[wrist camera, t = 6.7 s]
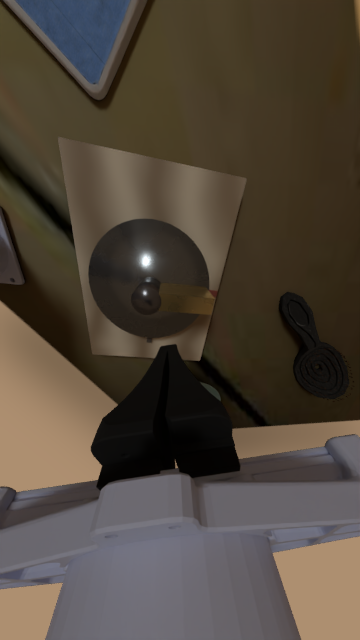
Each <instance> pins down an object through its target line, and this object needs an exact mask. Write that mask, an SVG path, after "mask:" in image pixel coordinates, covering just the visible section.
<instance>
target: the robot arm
mask: <svg viewBox="0 0 360 640" xmlns="http://www.w3.org/2000/svg"><path fill="white" fill-rule="evenodd" d="M13 279H14V280H15V281H14V280H13ZM0 283H6V284H15V285H22V284H24V283H25V280H24V277H23V274H22V271H21V268H20V265H19V262H18V259H17V256H16V253H15V250H14V247H13V244H12V241H11V238H10V234H9V231H8V228H7V225H6V222H5V219H4V216H3V213H2V210H1V207H0ZM234 446H235V444H234V441H233V437H232V421H231V419H230V417H229V415H228V413H227V411H226V409H225V408H224V406H223V404H222V403H221V401H220V400H219V399H217V398H216V397H215V396H214V395H212V394H211V393H210V392H209V391H208V390H207V389H206V388H205V387H204V386H203V385H202V384H201V383H200V382H199V381H198V380H197V379H196V378H195V377H194V375H193V374H192V373H191V372H190V370H189V369H188V368H187V366H186V364H185V363H184V361H183V359H182V358H181V356H180V354H179V351H178V348H177V345H176V344H172V345H165V346H161V347H160V348H159V351H158V353H157V355H156V357H155V359H154V361H153V363H152V364H151V366H150V368H149V369H148V371H147V372H146V374H145V375H144V377H143V378H142V380H141V381H140V382H139V383H138V385H137V386H136V387H135V388H134V389H133V391H132V392H131V393H130V394H129V395H128V396H127V397H126V398H125V399H124V400H123V401H122V402H121V403H120V404H119V405H118V406H117V407H116V408H114V409H113V410H112V411H111V412H110V413H108V414H107V415H106V416H105V417H104V418H103V419H102V421H101V424H100V426H99V428H98V430H97V433H96V435H95V438H94V440H93V443H92V446H91V452H92V454H93V455H94V457H95V458H96V459H97V460H98V461H99V462H100V464H101V465H102V469H101V472H100V475H99V479H98V480H95V481H89V482H82V483H75V484H69V485H62V486H56V487H48V488H42V489H36V490H28V491H21V492H16V490H14V489H12V488H10V487H0V589H7V588H15V587H24V586H34V585H43V584H53V583H63V584H62V587H61V591H60V594H59V597H58V600H57V603H56V607H55V610H54V613H53V617H52V620H51V623H50V626H49V630H48V632H47V636H46V639H45V640H301V638H300V635H299V632H298V629H297V626H296V623H295V620H294V617H293V614H292V611H291V608H290V605H289V602H288V599H287V596H286V593H285V590H284V587H283V584H282V581H281V578H280V575H279V572H278V569H277V566H276V563H275V560H274V557H273V554H272V553H274V552H279V551H284V550H290V549H295V548H300V547H305V546H310V545H315V544H321V543H326V542H331V541H336V540H341V539H347V538H352V537H358V536H360V438H359V437H358V435H355V434H352V435H345V436H339V437H334V438H331V439H329V440H328V441H327V442H326V444H325V446H324V447H318V448H311V449H304V450H297V451H290V452H284V453H277V454H271V455H264V456H257V457H250V458H243V459H238V456H237V453H236V450H235V447H234ZM175 460H176V463H177V466H178V468H176V469H175Z"/></svg>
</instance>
